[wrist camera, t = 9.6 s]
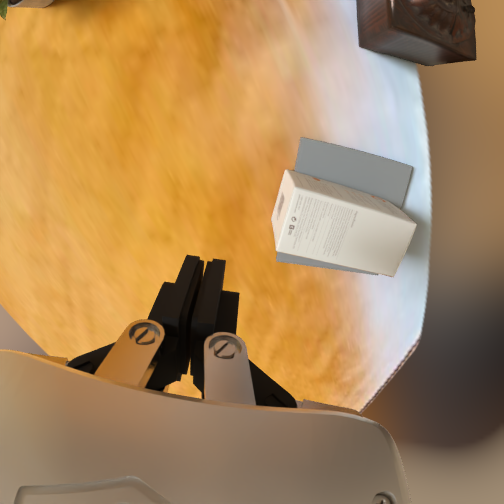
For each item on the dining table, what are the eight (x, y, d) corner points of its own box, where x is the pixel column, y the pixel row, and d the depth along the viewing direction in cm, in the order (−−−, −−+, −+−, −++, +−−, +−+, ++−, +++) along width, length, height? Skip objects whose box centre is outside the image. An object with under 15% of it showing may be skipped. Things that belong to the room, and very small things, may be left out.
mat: (300, 137, 30) (301, 137, 29) (409, 165, 31) (412, 166, 30) (276, 258, 37) (276, 261, 36) (376, 272, 38) (378, 275, 37)
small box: (273, 252, 27) (394, 279, 28) (293, 185, 24) (419, 223, 25) (270, 220, 34) (370, 245, 35) (284, 167, 31) (388, 198, 32)
